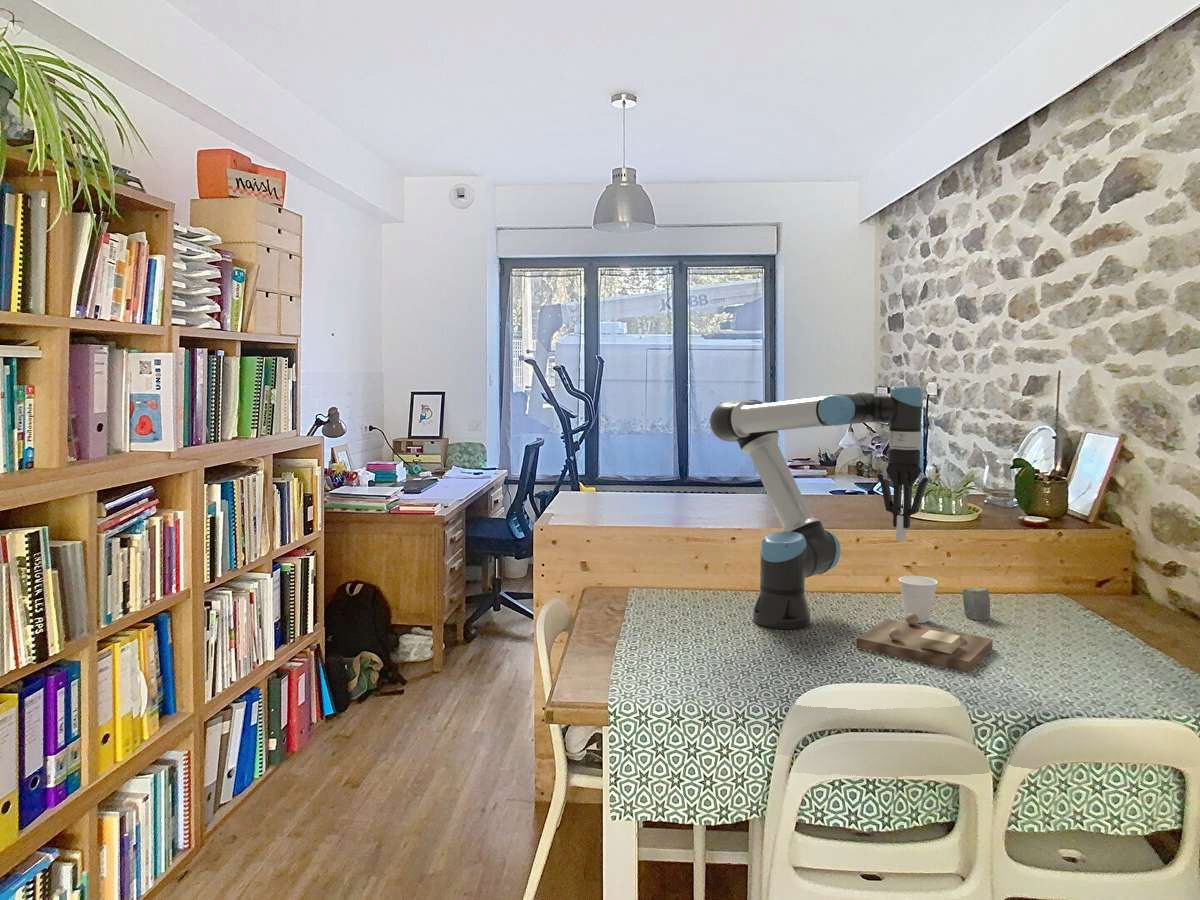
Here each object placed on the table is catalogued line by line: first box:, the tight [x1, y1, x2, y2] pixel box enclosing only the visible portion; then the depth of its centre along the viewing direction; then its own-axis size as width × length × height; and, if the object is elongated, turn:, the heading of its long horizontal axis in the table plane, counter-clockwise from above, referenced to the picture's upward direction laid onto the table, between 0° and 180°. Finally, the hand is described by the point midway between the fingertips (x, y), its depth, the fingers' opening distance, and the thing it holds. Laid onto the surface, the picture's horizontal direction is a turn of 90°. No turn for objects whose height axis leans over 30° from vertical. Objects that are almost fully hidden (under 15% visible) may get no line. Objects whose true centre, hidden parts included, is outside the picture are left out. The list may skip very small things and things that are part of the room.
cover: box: [920, 630, 960, 654], centre depth 196 cm, size 7×7×2 cm
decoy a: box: [889, 628, 902, 641], centre depth 201 cm, size 3×3×3 cm
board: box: [855, 618, 993, 673], centre depth 203 cm, size 26×20×2 cm
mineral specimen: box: [962, 587, 991, 622], centre depth 229 cm, size 7×9×8 cm
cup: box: [898, 575, 939, 624], centre depth 225 cm, size 10×10×11 cm
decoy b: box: [905, 613, 919, 625], centre depth 213 cm, size 3×3×3 cm
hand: (900, 540), depth 212 cm, fingers closed
